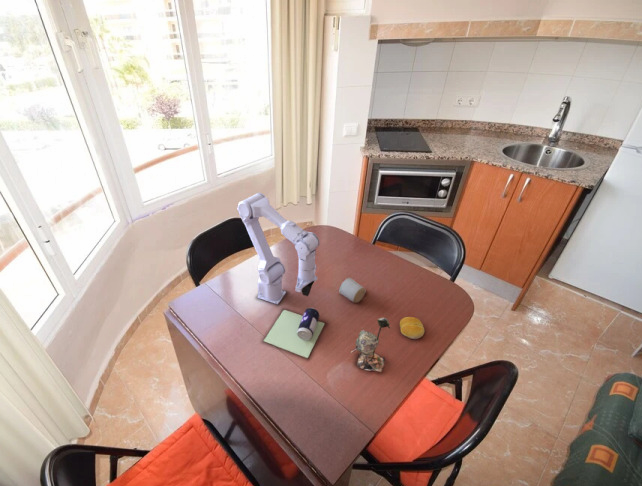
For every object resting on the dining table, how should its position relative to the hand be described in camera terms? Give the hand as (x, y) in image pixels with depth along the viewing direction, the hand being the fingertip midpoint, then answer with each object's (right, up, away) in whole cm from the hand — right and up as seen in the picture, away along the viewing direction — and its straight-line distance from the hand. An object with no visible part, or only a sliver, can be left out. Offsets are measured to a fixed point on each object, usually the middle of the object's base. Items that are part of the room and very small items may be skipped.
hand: (305, 294), depth 120 cm
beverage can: (+3, -7, +2) cm, 8 cm away
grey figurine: (+20, -21, -12) cm, 31 cm away
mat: (-4, -14, -2) cm, 14 cm away
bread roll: (+38, -13, -2) cm, 40 cm away
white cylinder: (+21, -2, +14) cm, 25 cm away
